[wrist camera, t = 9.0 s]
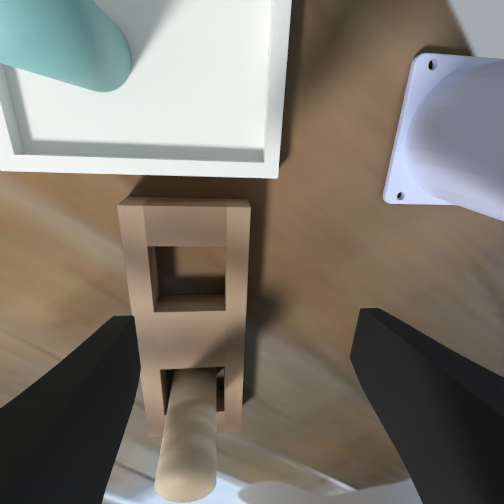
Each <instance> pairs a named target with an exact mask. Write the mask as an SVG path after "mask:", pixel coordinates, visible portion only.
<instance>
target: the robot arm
mask: <svg viewBox="0 0 504 504" xmlns="http://www.w3.org/2000/svg"><path fill="white" fill-rule="evenodd" d="M430 61H432V62H433V67H432V69H431V70H430V69H429V68H428V64H429V62H430ZM400 192H401V197H400V198H398V199H397V195H398V193H400ZM383 199H384V201H385V202H387V203H390V204H436V205H458V206H461V207H464V208H467V209H470V210H473V211H476V212H478V213H481V214H484V215H487V216H490V217H493V218H496V219H499V220H502V221H504V59H496V58H484V57H472V56H460V55H447V54H435V53H422V54H419V55H418V56H416V57H415V58H414V60H413V62H412V64H411V69H410V74H409V78H408V83H407V87H406V92H405V96H404V101H403V105H402V110H401V114H400V119H399V124H398V128H397V133H396V137H395V142H394V146H393V151H392V155H391V160H390V164H389V169H388V174H387V178H386V183H385V187H384V192H383ZM350 359H351V362H352V364H353V367H354V370H355V372H356V375H357V377H358V379H359V382H360V384H361V386H362V388H363V390H364V392H365V394H366V396H367V398H368V399H369V401H370V403H371V405H372V407H373V408H374V410H375V412H376V414H377V416H378V417H379V419H380V421H381V423H382V425H383V426H384V428H385V430H386V432H387V433H388V435H389V437H390V439H391V441H392V442H393V444H394V446H395V448H396V449H397V451H398V453H399V455H400V457H401V459H402V461H403V462H404V464H405V466H406V468H407V470H408V472H409V474H410V476H411V479H412V481H413V483H414V485H415V487H416V489H417V492H418V494H419V496H420V498H421V500H422V503H423V504H504V377H502V376H500V375H498V374H496V373H494V372H492V371H490V370H488V369H486V368H484V367H482V366H480V365H478V364H476V363H475V362H473V361H471V360H469V359H467V358H465V357H463V356H461V355H460V354H458V353H456V352H454V351H453V350H451V349H449V348H447V347H445V346H444V345H442V344H440V343H438V342H437V341H435V340H433V339H432V338H430V337H428V336H426V335H425V334H423V333H421V332H420V331H418V330H416V329H415V328H413V327H411V326H410V325H408V324H406V323H404V322H403V321H401V320H399V319H398V318H396V317H394V316H392V315H390V314H389V313H387V312H385V311H383V310H381V309H379V308H363V309H360V313H359V317H358V322H357V326H356V331H355V335H354V340H353V344H352V349H351V353H350ZM140 372H141V363H140V355H139V348H138V340H137V332H136V325H135V317H134V316H113V317H112V318H110V319H109V320H108V321H107V322H106V323H105V324H103V325H102V326H101V327H100V328H99V329H98V330H97V331H96V332H94V333H93V334H92V335H91V336H90V337H89V338H88V339H87V340H85V341H84V342H83V343H82V344H81V345H80V346H79V347H77V348H76V349H75V350H74V351H73V352H72V353H70V354H69V355H68V356H67V357H66V358H65V359H63V360H62V361H61V362H60V363H59V364H57V365H56V366H55V367H54V368H52V369H51V370H50V371H49V372H47V373H46V374H45V375H44V376H42V377H41V378H40V379H39V380H37V381H36V382H35V383H33V384H32V385H31V386H30V387H28V388H27V389H26V390H25V391H23V392H22V393H21V394H19V395H18V396H17V397H15V398H14V399H13V400H11V401H10V402H9V403H7V404H6V405H4V406H3V407H2V408H0V504H101V503H102V500H103V496H104V493H105V489H106V486H107V483H108V480H109V477H110V474H111V471H112V468H113V465H114V462H115V459H116V456H117V453H118V450H119V447H120V444H121V441H122V438H123V435H124V432H125V429H126V426H127V423H128V420H129V416H130V413H131V410H132V407H133V404H134V401H135V396H136V392H137V387H138V382H139V377H140Z"/></svg>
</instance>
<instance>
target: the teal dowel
mask: <svg viewBox="0 0 504 504" xmlns="http://www.w3.org/2000/svg"><path fill="white" fill-rule="evenodd" d="M0 63H2V64H5V65H9V66H12V67H15V68H19V69H22V70H25V71H29V72H32V73H35V74H39V75H42V76H45V77H49V78H52V79H55V80H59V81H62V82H65V83H69V84H72V85H75V86H79V87H82V88H85V89H89V90H92V91H96V92H110V91H113V90H116V89H118V88H119V87H121V86H122V85H123V84H124V83H125V81H126V80H127V78H128V76H129V74H130V71H131V66H132V55H131V50H130V46H129V44H128V41H127V39H126V37H125V35H124V34H123V32H122V31H121V30H120V29H119V27H118V26H117V25H116V24H115V23H114V22H113V21H112V20H111V19H110V18H109V17H108V16H107V14H106V13H105V12H104V11H103V10H102V9H101V8H100V7H99V6H98V5H97V4H96V3H95V2H94V1H93V0H0Z"/></svg>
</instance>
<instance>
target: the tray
mask: <svg viewBox="0 0 504 504" xmlns="http://www.w3.org/2000/svg"><path fill="white" fill-rule="evenodd" d="M93 1H94V2H95V3H96V4H97V5H98V6H99V7H100V8H101V9H102V10H103V11H104V12H105V13H106V14H107V16H108V17H109V18H110V19H111V20H112V21H113V22H114V23H115V24H116V25H117V26H118V27H119V29H120V30H121V31H122V32H123V34H124V35H125V37H126V39H127V41H128V44H129V46H130V50H131V55H132V66H131V71H130V74H129V76H128V78H127V80H126V81H125V83H124V84H123V85H122V86H121V87H119V88H118V89H116V90H113V91H110V92H96V91H92V90H89V89H85V88H82V87H79V86H75V85H72V84H69V83H65V82H62V81H59V80H55V79H52V78H49V77H45V76H42V75H39V74H35V73H32V72H29V71H25V70H22V69H19V68H15V67H12V66H9V65H5V64H2V63H0V169H1V171H24V172H61V173H97V174H133V175H170V176H206V177H242V178H278V170H279V157H280V144H281V131H282V118H283V106H284V93H285V80H286V67H287V54H288V41H289V29H290V16H291V3H292V0H93Z"/></svg>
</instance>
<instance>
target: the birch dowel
mask: <svg viewBox="0 0 504 504" xmlns="http://www.w3.org/2000/svg"><path fill="white" fill-rule="evenodd" d="M215 486H216V367H204V368H182V369H174V375H173V381H172V387H171V393H170V398H169V404H168V410H167V416H166V422H165V427H164V433H163V439H162V445H161V451H160V456H159V462H158V468H157V474H156V480H155V490H156V492H157V493H158V495H159V496H161V497H162V498H164V499H166V500H169V501H173V502H192V501H196V500H199V499H202V498H204V497H206V496H207V495H209V494H210V493H211V492H212V491H213V490H214V488H215Z"/></svg>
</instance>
